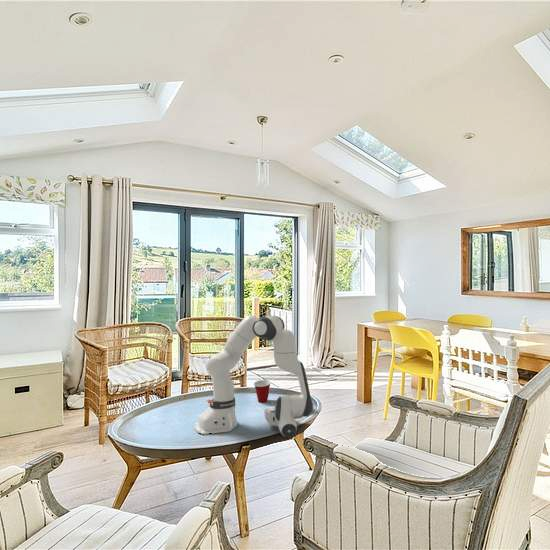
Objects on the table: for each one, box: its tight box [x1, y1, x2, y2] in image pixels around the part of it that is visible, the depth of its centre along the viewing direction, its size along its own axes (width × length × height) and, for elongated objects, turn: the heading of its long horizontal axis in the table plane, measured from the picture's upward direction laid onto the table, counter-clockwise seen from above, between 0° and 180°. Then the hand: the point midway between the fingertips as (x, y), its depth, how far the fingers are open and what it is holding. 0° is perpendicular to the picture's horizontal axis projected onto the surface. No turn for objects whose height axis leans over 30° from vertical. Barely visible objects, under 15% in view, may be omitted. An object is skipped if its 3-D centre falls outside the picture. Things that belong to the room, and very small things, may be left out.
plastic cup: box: [253, 379, 271, 404], centre depth 231 cm, size 11×11×12 cm
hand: (281, 407), depth 203 cm, fingers closed on lid, 3 cm apart
